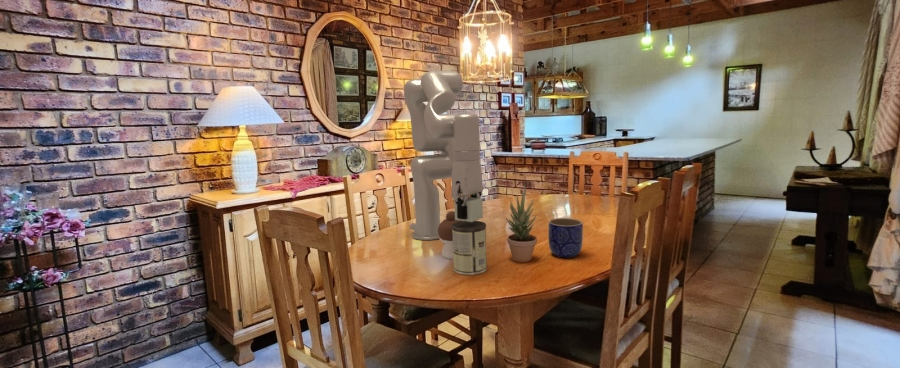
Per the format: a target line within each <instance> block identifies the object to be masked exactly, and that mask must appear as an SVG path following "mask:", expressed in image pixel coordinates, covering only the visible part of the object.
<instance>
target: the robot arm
mask: <svg viewBox="0 0 900 368" xmlns="http://www.w3.org/2000/svg"><path fill="white" fill-rule="evenodd" d="M403 86H404V87H403V98H404V102H405V105H406V107H407V109H408V113H409V116H410V117H409V118H410V125H411V127H410V128H411V138H412V146H413V148H414V150H415V151H417V152H420V153H422V152H423V153H424V152H425V153H427V152H441V154H426V155H425V154H424V155H419V156H415V157H414V158H412V160H411V162H410V171H411V176H412V181H413V182H412V183H413V192H414V195H413V196H414V211H415V213H414V214H415V222H412V223H411V224H410V225H409V229H410V230H413V232H412V235H411V236H412V238H413V239H415V240H421V241H433V240H438V239H439V235H438V227H439V225H440V224H441V212H440V211H441V209H440V208H441V206H440V190H439V189H438V187H437V186H436V184H435V183H434V182H433V181H436V180H443V179H444V180H445V179H451V195H450V196H451V198H452V199H453V200H454V201H455V203H456V205H457V218H458V219H467V206H465V205H466V200H467V197H473V198H482V197H481V196H482V194H483V191H484V188H485V187H484V186H483V176H482V174H483V173H482V166H481V150H480V148H481V144H480V142H481V140H480V118H479V116H478V115H477V114H475V113H446V112H449V110H451V109H452V108H453V106H454V105H455V102H456V97H457V96H459V95H460V94H461V93H462V91H463V87H464V82H463V78H462V76H461V74H460V73H459V72H458V71H457V70H456V71H455V70H429V71H427V72H425V73H424V74H423V75H422V76H421V77H420V78H414V79H410V80H408V81H406V82H405V84H404V85H403ZM461 198H463V200H462V199H461ZM454 201H453V202H454ZM439 240H440V239H439Z"/></svg>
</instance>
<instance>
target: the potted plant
mask: <svg viewBox="0 0 900 368" xmlns="http://www.w3.org/2000/svg"><path fill="white" fill-rule="evenodd" d="M525 201H526V183H524V185H523V190H522V193H521V200H520V201H519V196H518V195H516V208H515V206H514V204H513V202H512V201H510V202H509V203H510V205H509V208H510V210H511V213H510V217H511V219H512V220H511V219H508V218H507V217H505V220H506V221H507V223H508V224H509V227H508V229H509V230H510V231H511V232H512V234H509V235H507V237H506V242H507V244H508V246H509V250H510V253H511V259H512V260H513V261H515V262H518V263H526V262H530V261H531V260H532V258H533V253H534V250H535V246H536V245H537V243H538V237H537V236H536V235H534V234H531V233H530V232H531V231H532V229H533V226H534V224H533V222H534V221H535V220H536V218H537V217H536V216H534V217H533V218H532V219H530V217H531V214H532V213H533V210H534V208H532V206H533V204H534V201H535V198H533V200H532V201H531V202H530V203H529V206H528V207H527V209H526V210H525ZM531 208H532V209H531Z"/></svg>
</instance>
